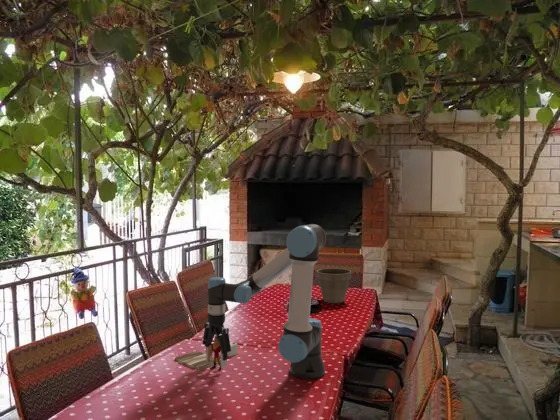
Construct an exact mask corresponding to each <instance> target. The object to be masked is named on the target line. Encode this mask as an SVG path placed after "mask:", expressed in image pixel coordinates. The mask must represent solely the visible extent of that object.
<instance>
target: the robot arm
mask: <svg viewBox="0 0 560 420" xmlns="http://www.w3.org/2000/svg"><path fill="white" fill-rule="evenodd" d="M326 242H327V235H326V232H325V230H324V228H322V227H321V226H320V225H318V224H314V223H310V224H309V223H308V224H304V225H298V226H297V227H295V228H293V229H292V230H290V232H288V234H287V237H286V248H285V249H283V251H281V252H280V253H279V254H277V255H276V256H275V257H273V258H272V259H271V260H270V261H269V262H268V263H266V264H265V265H263V266H262V267H261V268H260V269H258V270H257V271H256V272H255V273H253V274H252V275H251V276H249V277H248V278H246V280H242V281H240V282H238V283H227V282H226V278H225V277H221V276H215V277H213V276H212V277H210V278H208V280H207V313H208V314H207V322H205V323H204V330H203V338H202V345H204V346H205V354H206V362H208V357H209V355H208V353H209V348H210V345H211V344H212V343H213V342H214V338H215V336H217V338H218V340H219V343H220V347H221V350H222V352H220V360H221V369H223V368H226V367H228V366H227V362H228V361H227V360H228V356H227V352H230V351H231V347H230V340H231V339H230V335H229V332H230V329H229V328H227V327H225V325H224V324H225V322H226V302H230V303H238V304H248V303H249V302H250V301H251V300H252V296H255V295H257V294H258V293H260V292H261V291H262V289H264V288H265V287H267V285H270V283H272V282H273V281H274V280H276V279H277V278H278V277H280V276H281V275H282V274H284V273H286V271H288V270H289V269H290V268H291V276H290V278H291V279H290V289H289V290H290V291H289V299H288V301H289V302H288V303H289V304H288V317H287V321H286V322H285V323H283V330H282V336H281V337H280V340H278V347H277V348H278V352H279V354H280V355H281V356H282V357H283V359H284V360H285V361H287V362H289V363H290V366H289V367H290V368H289V372H290V374H291V375H292V376H294V377H296V378H299V379H305V380H311V379H313V380H314V379H319V378H321V377H323V376H324V375H325V374H326V366H325V364H324V359H323V356H322V329H323V327H322V322H321V321H320V319H317V318H312V317H311V303H312V295H313V294H312V293H313V291H312V290H313V281H314V269H315V264H316V263H317V262H319V254H320V253H319V252H320V250H322V249H323V248H324V246H325V244H326ZM224 349H225V350H224ZM212 357H213V353H212V354H211V356H210V361H212Z"/></svg>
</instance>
